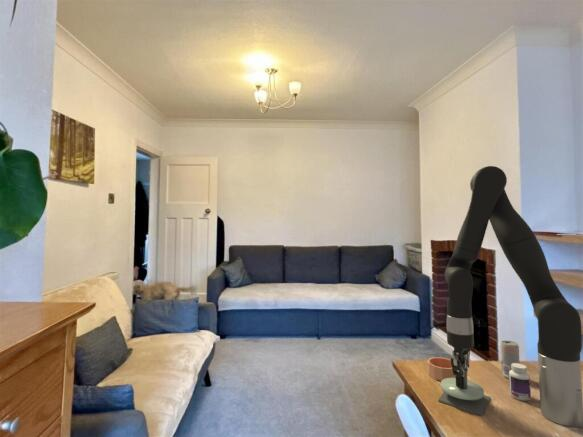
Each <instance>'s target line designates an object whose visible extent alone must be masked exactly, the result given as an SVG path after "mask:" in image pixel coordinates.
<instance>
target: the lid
mask: <svg viewBox="0 0 583 437" xmlns="http://www.w3.org/2000/svg"><path fill="white" fill-rule="evenodd" d="M457 371H458V370H457ZM440 388H441V390H442V392H443V393H444V392H445V393H447V394H449V395H451V396H453V397H456V398H459V399H464V400H479V399H481V398H483V397H484V395H485V390H484V388H483V387H482V386H481V385H480V384H478V383H476V382H475V381H472V380H469V379H468V371H466V370H464V388H463V389H462V388H458V387H457V386H456V378H446V379H443V380H442V381H440Z"/></svg>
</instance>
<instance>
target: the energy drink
mask: <svg viewBox="0 0 583 437" xmlns="http://www.w3.org/2000/svg"><path fill="white" fill-rule="evenodd" d="M500 354H501V355H500V356H501V358H500V360H501V375H502V376H503V377H504V378H506V379H509V371H510V370H512V369H511V364H512V363H518V364H521V361H520V347H519V344H518V343H517V342H516V341H512V340H501V342H500Z"/></svg>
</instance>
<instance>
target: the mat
mask: <svg viewBox="0 0 583 437" xmlns="http://www.w3.org/2000/svg"><path fill="white" fill-rule="evenodd" d="M437 400H438V401H437V402H439V403H442V404H446V405H449V406H452V407H455V408H458V409H461V410H464V411H467V412H470V413H473V414H476V415H479V416H482V417H483V416H484V414H485V411H486V410H487V406H488V404H489V402H490V400H491V396H489V395H487V394H484V397H483V398H481V399H479V400H464V399H459V398H456V397H453V396H451V395H449V394H447V393H445V392H444V391H443V393H441V395H440V396H439V398H438V399H437Z"/></svg>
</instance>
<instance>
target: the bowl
mask: <svg viewBox="0 0 583 437" xmlns="http://www.w3.org/2000/svg"><path fill="white" fill-rule="evenodd" d="M426 367H427V374H428V376H429V377H430V378H431V377H432V378H431V379H433V378H434V380H435V379H436V381H438V380H439V382H441V381H442V380H443V379H446V378H456V375H453V371H452V365H451V358H446V357H442V356H441V357H438V356H437V357H436V356H434V357H429V358H428V359H427V366H426Z"/></svg>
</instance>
